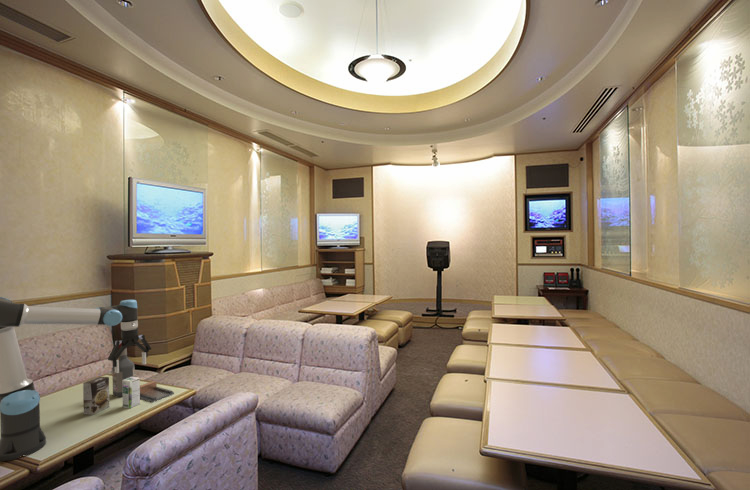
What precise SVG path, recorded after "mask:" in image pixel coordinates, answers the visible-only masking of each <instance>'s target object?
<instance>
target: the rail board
mask: <svg viewBox="0 0 750 490" xmlns="http://www.w3.org/2000/svg"><path fill="white" fill-rule="evenodd" d="M157 383H158V382H157V381H156V380H152V381H150V382H147V383H144V384H141V385H140V399H141V400H144V401H146V400H147V401H146V402H149V401H151V402H150V403H155V402H158V401H159V400H160V401H161V400H162V398H163V399H165V398H167V397H170V396H173V395H174V394H175V392H174V391H173V390H170V389H167V388H162V387H159V386H157ZM157 400H158V401H157ZM154 401H155V402H154Z"/></svg>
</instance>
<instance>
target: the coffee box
mask: <svg viewBox="0 0 750 490" xmlns="http://www.w3.org/2000/svg"><path fill="white" fill-rule="evenodd" d="M82 385H83V386H82V388H83V389H82V393H83V396H82V397H83V400H82V402H83V414H84V415H91V416H93V415H95V414H97V413H100V412H101V411H104V410H106V409H109V408H110V377H109V376H98V377H95V378H93V379H91V380H87V381H83V383H82Z"/></svg>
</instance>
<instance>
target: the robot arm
mask: <svg viewBox="0 0 750 490" xmlns="http://www.w3.org/2000/svg"><path fill="white" fill-rule="evenodd" d="M138 317H139V316H138V302H137V300H136V299H125V300H120V302H119V304H117V305H112V306H111V305H110V306H100V307H99V306H98V307H96V308H95V307H94V308H86V307H85V308H82V307H80V308H79V307H60V306H59V307H57V306H33V305H31V306H29V305H27V304H26V303H17V302H13V301H11V300H10V299H9V298H6V297H2V296H0V462H6V461H7V462H8V461H13V460H17V459H19V458H18V457H20V456H23V455H27V456H29V455H31V454H34V453H36V452H37V451H39V450H41V449H42V448H44V447H45V446H46V445H47V438H46V435H45V433H44V431H43V429H42V428H41V416H40V415H41V413H40V412H41V411H40V407H41V406H40V402H41V397H40V394H39V392H38V391H37V390H36V387H35V384H34V380H33V379H30V378H28V376H27V373H26V367H25V365H24V360H23V357H22V353H21V348H20V346H19V345H20V344H19V341H18V337H17V333H16V330H15V328H17V327H22V326H23V325H81V326H82V325H87V326H88V325H91V326H92V325H94V326H95V325H96V326H97V325H98V326H99V325H100V326H108V327H113V326H117V325H118V324H120V330H121V331H120V337H121V340H114V345H113V347H112V349H111V352H110V354H109V355H108V358H107V360H108V361H111V362H112V368H113V367H115V373H119V357H120V355H121V353H122V352H123V351H124V349H126V347H127V348H129V347H133V346H136V347H138V348H139V350H141V351H142V352H141V364H142V365H147V358H148V357H149V356H148V353H149V351H151V350H152V348H151V346H150V344H149V343H148V341H147V339H146V338H145V337H146V336H145V334H139V328H138V327H139V321H138V320H139V318H138ZM139 340H140V341H141V343H142V344H141V343H140V342H139ZM120 343H122V345H121V346H120V348H119V345H120ZM28 454H29V455H28Z"/></svg>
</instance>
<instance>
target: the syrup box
mask: <svg viewBox="0 0 750 490" xmlns="http://www.w3.org/2000/svg"><path fill="white" fill-rule="evenodd" d="M140 380H141V379H140V377H129V378H126V379H124V380H122V389H123V397H122V408H127V409H132V408H135V407H136V406H138V405H140V404H141V400H140V386H141V385H140V383H141V381H140Z"/></svg>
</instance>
